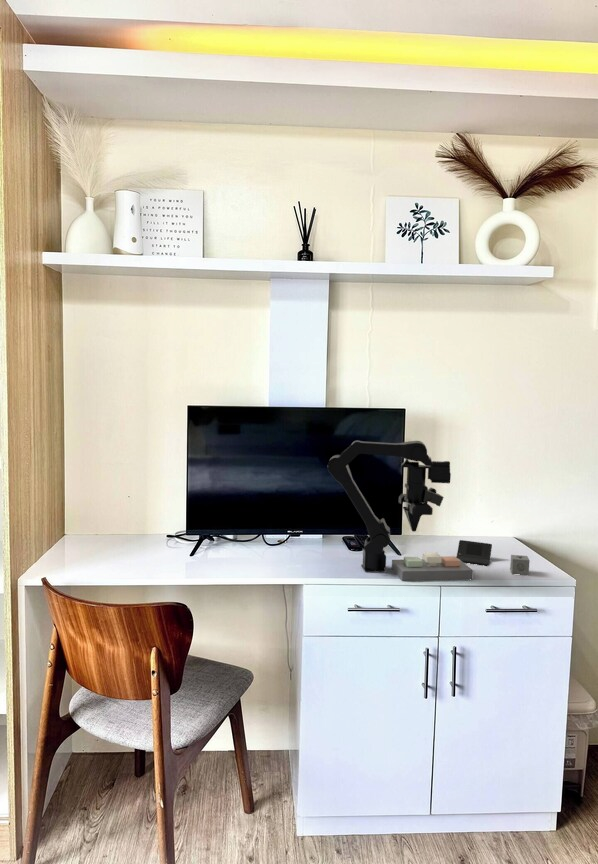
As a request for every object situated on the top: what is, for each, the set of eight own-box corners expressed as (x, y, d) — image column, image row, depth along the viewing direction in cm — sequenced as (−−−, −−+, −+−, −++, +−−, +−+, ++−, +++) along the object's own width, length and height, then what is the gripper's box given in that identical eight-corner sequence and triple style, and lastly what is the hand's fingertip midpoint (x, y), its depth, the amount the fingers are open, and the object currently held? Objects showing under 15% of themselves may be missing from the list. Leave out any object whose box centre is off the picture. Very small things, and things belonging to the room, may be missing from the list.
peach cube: (445, 575, 214) (445, 560, 213) (440, 570, 219) (440, 556, 218) (459, 575, 215) (460, 560, 214) (454, 570, 219) (454, 556, 219)
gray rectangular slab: (402, 581, 208) (402, 571, 208) (391, 568, 220) (392, 559, 220) (472, 579, 211) (472, 570, 211) (458, 567, 223) (458, 558, 223)
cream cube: (426, 571, 213) (427, 556, 213) (421, 567, 218) (422, 552, 217) (440, 571, 214) (441, 556, 213) (436, 567, 218) (436, 552, 218)
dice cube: (526, 571, 222) (527, 555, 221) (528, 575, 217) (529, 560, 217) (510, 569, 223) (511, 554, 222) (511, 574, 218) (512, 559, 217)
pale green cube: (407, 576, 212) (408, 561, 212) (403, 571, 217) (403, 556, 216) (421, 576, 213) (422, 561, 213) (417, 571, 218) (418, 556, 217)
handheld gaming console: (454, 558, 228) (459, 531, 233) (452, 566, 234) (457, 540, 239) (490, 567, 225) (494, 539, 230) (487, 575, 231) (491, 547, 236)
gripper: (450, 487, 206) (447, 539, 208) (433, 476, 225) (430, 524, 226) (413, 487, 205) (411, 539, 207) (399, 476, 224) (397, 524, 225)
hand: (413, 531), depth 216 cm, fingers closed
